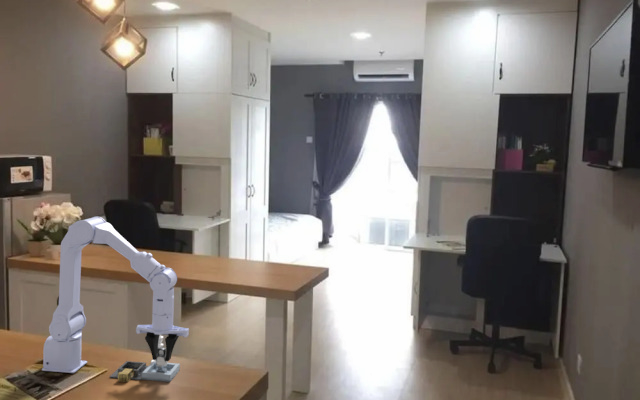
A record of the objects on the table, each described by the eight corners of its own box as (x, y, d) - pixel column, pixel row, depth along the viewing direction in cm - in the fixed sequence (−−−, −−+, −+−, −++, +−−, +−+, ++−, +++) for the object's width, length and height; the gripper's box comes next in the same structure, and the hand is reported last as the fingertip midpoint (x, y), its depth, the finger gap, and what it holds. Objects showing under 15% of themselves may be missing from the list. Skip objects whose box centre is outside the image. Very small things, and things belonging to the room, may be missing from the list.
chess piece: (162, 367, 161) (163, 334, 160) (147, 365, 161) (148, 332, 161) (170, 361, 165) (171, 329, 164) (155, 359, 166) (156, 327, 165)
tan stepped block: (117, 381, 150) (118, 373, 150) (124, 375, 154) (124, 367, 153) (127, 381, 150) (128, 374, 149) (133, 375, 154) (133, 368, 153)
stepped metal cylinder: (153, 374, 154) (154, 350, 153) (157, 369, 157) (158, 346, 156) (164, 375, 153) (165, 351, 153) (168, 370, 157) (169, 347, 156)
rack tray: (142, 379, 152) (142, 372, 151) (152, 368, 159) (152, 361, 159) (170, 381, 151) (170, 374, 151) (179, 370, 159) (179, 363, 159)
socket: (109, 377, 152) (109, 370, 151) (123, 365, 160) (123, 358, 160) (141, 380, 151) (141, 373, 151) (153, 367, 160) (153, 360, 160)
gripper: (132, 314, 150) (131, 362, 151) (183, 318, 149) (182, 366, 150) (142, 307, 157) (140, 353, 158) (191, 311, 156) (190, 357, 157)
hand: (161, 359), depth 155 cm, fingers closed on stepped metal cylinder, 3 cm apart
